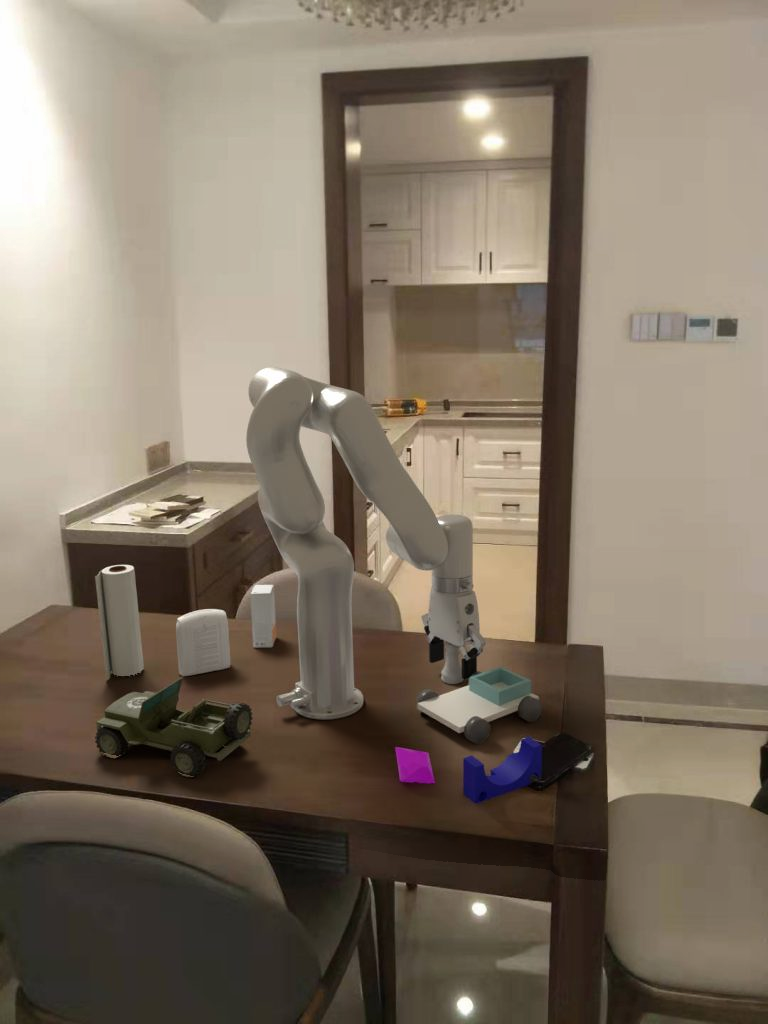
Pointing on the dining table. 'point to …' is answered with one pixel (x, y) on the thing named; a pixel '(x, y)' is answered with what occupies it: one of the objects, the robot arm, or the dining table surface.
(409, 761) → the crystal
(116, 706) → the toy jeep
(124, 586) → the paper towel roll
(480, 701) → the chassis
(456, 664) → the rook chess piece
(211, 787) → the dining table surface
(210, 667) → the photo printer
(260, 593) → the skincare box
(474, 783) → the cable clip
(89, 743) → the dining table surface
